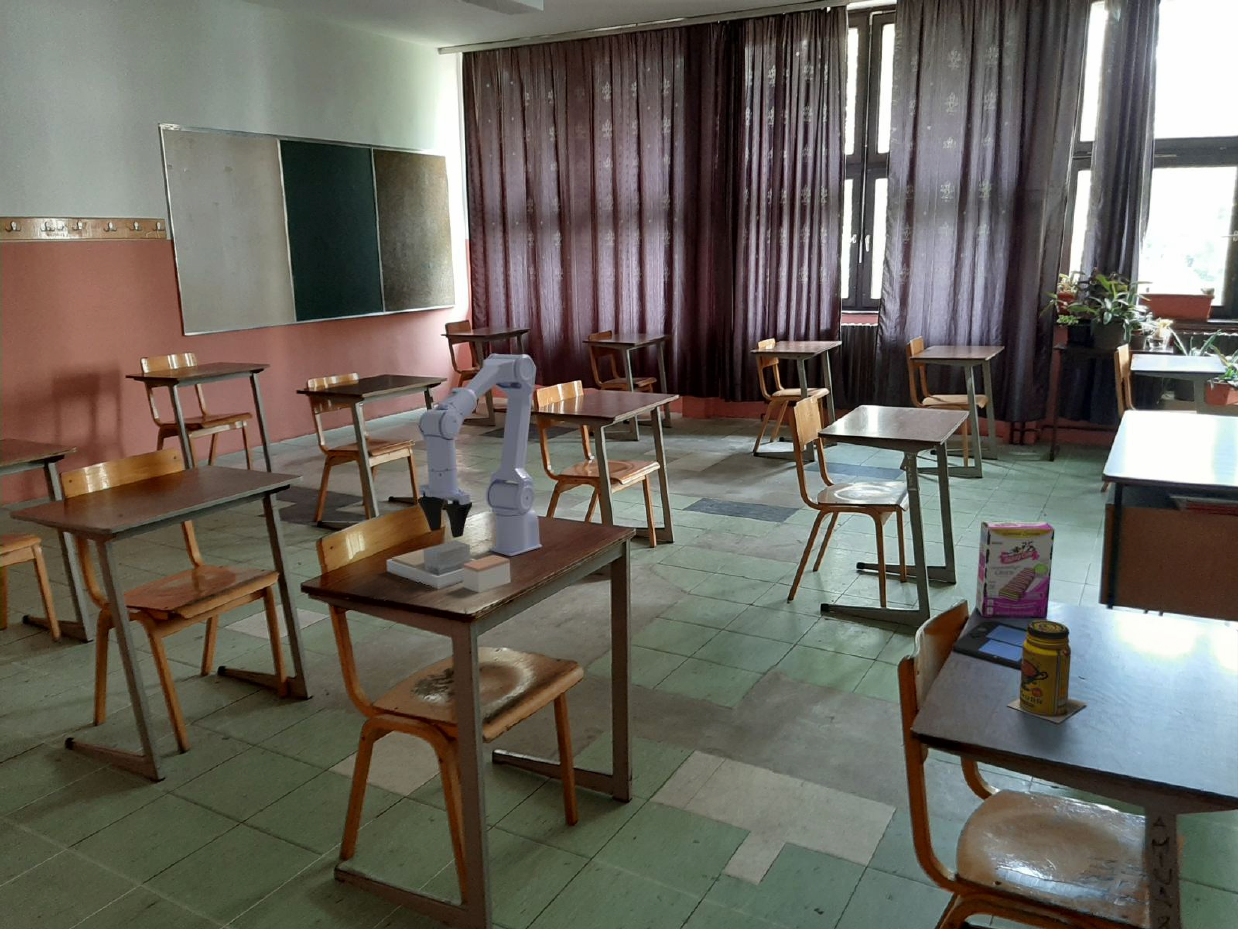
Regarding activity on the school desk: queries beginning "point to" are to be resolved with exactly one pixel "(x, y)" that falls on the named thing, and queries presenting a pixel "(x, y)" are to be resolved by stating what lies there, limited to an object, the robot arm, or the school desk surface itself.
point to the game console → (994, 643)
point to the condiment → (1046, 672)
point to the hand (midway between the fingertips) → (446, 533)
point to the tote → (421, 570)
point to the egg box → (486, 573)
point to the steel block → (446, 557)
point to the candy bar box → (1014, 568)
